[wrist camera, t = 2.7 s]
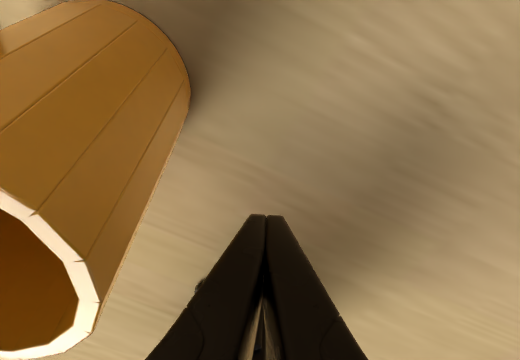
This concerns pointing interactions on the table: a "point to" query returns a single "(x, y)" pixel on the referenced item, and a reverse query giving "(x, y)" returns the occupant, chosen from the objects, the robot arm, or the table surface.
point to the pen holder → (78, 162)
